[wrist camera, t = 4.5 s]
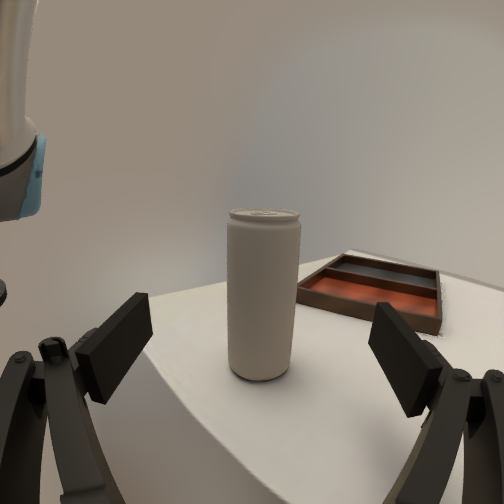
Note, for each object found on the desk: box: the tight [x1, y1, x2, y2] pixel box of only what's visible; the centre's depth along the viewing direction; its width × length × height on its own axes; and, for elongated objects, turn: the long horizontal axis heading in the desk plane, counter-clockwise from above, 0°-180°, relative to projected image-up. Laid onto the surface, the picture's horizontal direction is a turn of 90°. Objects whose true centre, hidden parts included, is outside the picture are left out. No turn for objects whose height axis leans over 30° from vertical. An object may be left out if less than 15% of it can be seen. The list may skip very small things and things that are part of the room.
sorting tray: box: [296, 254, 442, 336], centre depth 37 cm, size 18×20×2 cm
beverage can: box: [227, 208, 301, 381], centre depth 20 cm, size 5×5×12 cm
